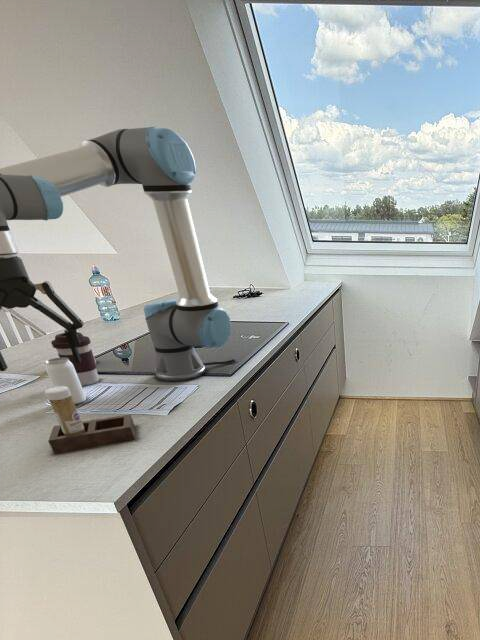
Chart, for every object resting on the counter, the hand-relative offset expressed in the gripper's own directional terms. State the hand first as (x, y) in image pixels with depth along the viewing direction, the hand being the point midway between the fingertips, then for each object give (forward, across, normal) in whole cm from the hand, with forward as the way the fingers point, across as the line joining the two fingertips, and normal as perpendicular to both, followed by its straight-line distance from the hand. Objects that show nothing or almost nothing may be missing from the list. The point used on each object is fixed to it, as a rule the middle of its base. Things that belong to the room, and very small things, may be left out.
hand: (42, 365), depth 99 cm
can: (+19, +3, -31) cm, 37 cm away
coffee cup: (+19, +1, -49) cm, 53 cm away
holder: (+19, -5, 0) cm, 19 cm away
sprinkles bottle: (+19, -1, +1) cm, 19 cm away
